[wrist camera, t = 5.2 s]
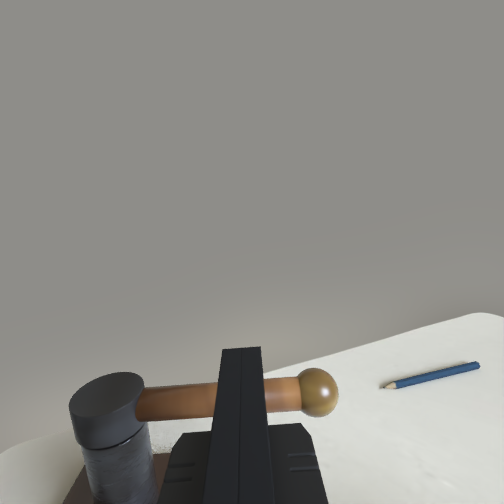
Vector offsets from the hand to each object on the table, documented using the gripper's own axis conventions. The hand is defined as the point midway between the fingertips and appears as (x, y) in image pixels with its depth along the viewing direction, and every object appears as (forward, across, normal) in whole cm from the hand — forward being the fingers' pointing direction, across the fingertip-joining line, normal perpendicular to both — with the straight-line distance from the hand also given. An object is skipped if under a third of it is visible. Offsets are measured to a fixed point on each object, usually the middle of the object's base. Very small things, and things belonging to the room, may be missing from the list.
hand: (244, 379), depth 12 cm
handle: (+8, -3, -9) cm, 13 cm away
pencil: (+26, +24, -20) cm, 40 cm away
